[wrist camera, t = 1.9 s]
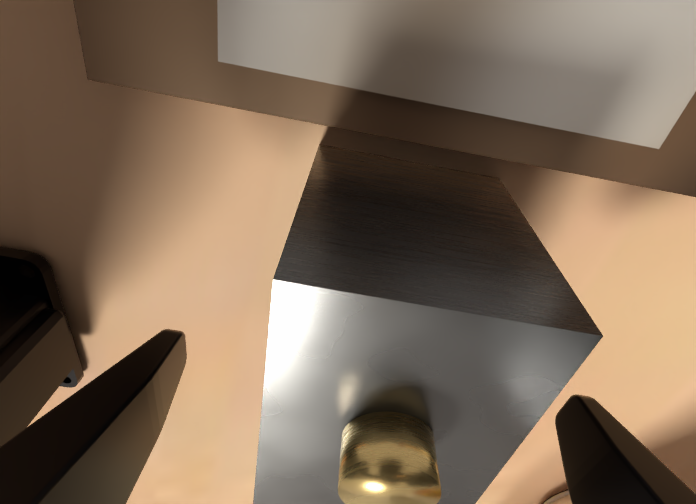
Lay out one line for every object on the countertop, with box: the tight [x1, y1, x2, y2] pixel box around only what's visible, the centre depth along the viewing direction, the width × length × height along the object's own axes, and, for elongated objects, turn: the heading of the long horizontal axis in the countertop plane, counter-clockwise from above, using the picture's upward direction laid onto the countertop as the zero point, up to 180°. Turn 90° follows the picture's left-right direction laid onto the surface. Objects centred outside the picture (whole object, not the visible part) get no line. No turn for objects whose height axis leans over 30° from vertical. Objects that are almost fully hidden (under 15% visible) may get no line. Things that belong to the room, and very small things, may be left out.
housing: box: [253, 144, 603, 504], centre depth 10 cm, size 5×7×7 cm
